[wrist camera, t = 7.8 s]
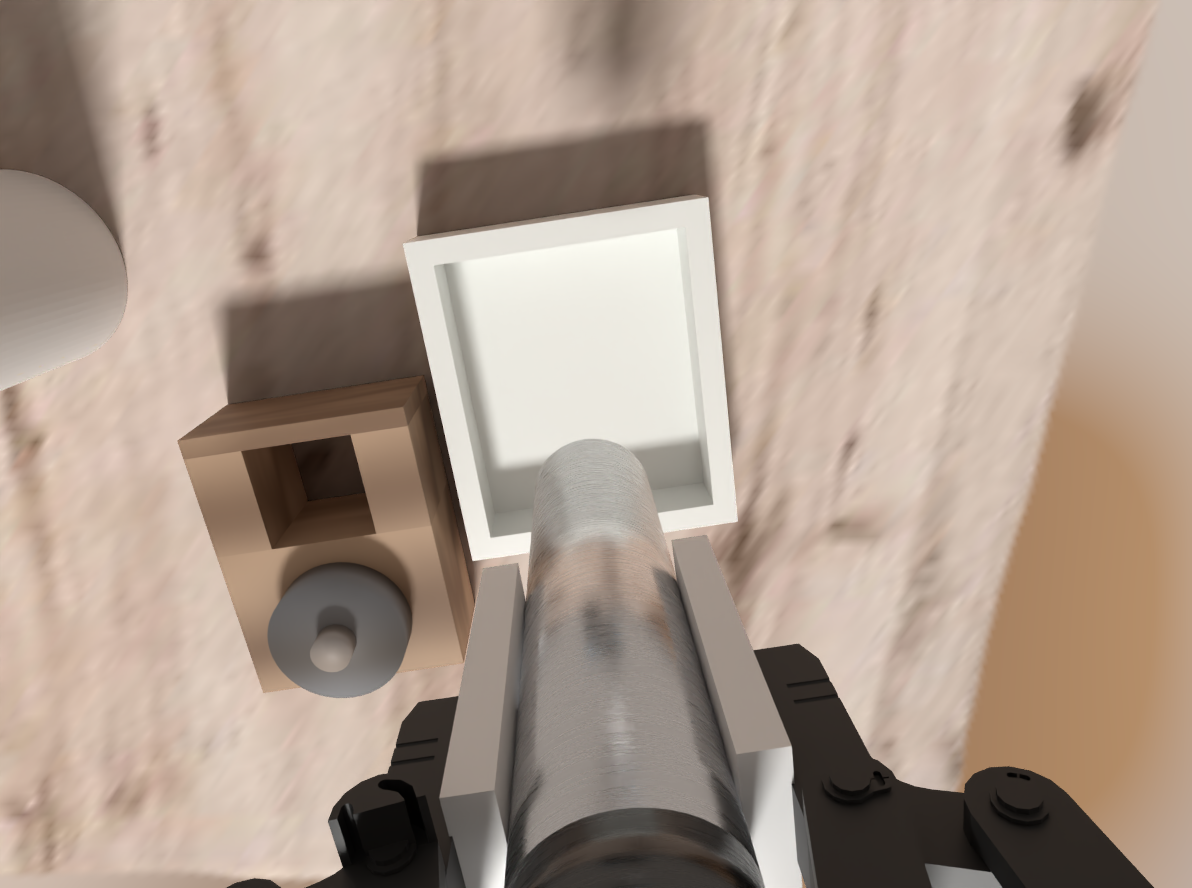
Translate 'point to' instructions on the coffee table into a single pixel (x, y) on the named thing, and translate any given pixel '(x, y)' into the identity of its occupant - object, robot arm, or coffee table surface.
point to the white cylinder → (53, 278)
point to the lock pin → (614, 700)
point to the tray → (577, 358)
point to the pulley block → (335, 538)
